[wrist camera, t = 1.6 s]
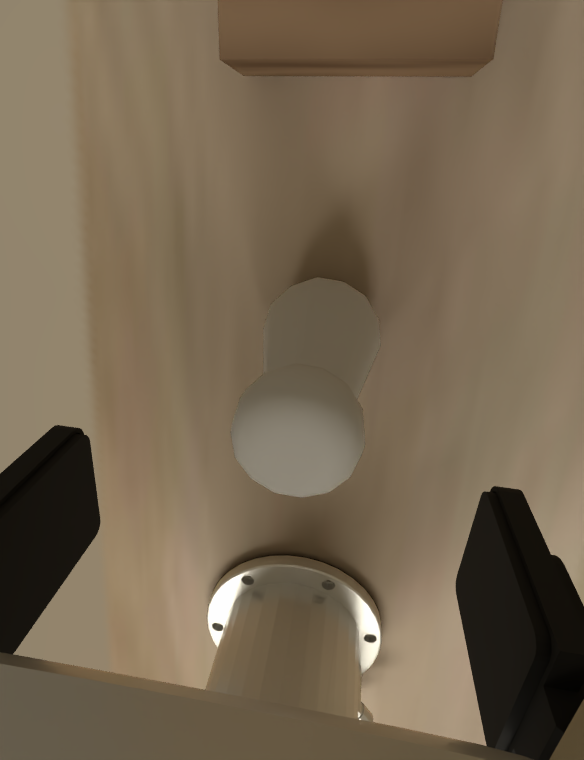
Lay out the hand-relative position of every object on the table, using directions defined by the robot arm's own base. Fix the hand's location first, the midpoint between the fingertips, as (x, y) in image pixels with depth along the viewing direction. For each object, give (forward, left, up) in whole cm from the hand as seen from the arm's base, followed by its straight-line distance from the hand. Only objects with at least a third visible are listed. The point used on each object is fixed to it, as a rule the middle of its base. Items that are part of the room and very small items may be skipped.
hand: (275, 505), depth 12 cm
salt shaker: (0, 0, -16) cm, 16 cm away
